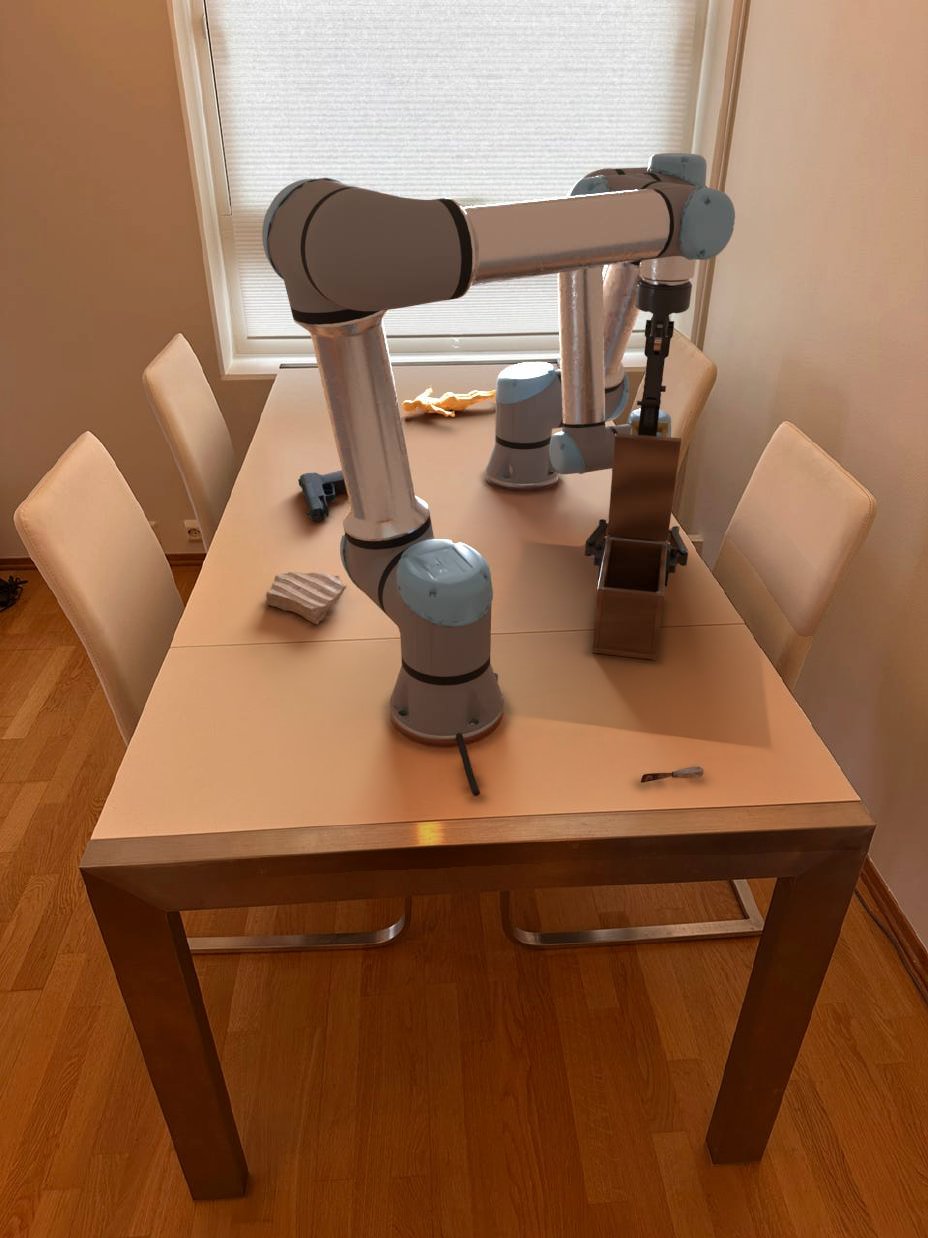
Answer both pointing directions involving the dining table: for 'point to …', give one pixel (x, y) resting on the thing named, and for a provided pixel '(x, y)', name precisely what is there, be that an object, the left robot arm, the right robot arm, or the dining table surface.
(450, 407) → the human figure
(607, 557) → the chest
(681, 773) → the putty knife
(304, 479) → the handgun
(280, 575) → the stone
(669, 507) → the lid
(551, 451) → the right robot arm
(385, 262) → the left robot arm
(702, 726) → the dining table surface
